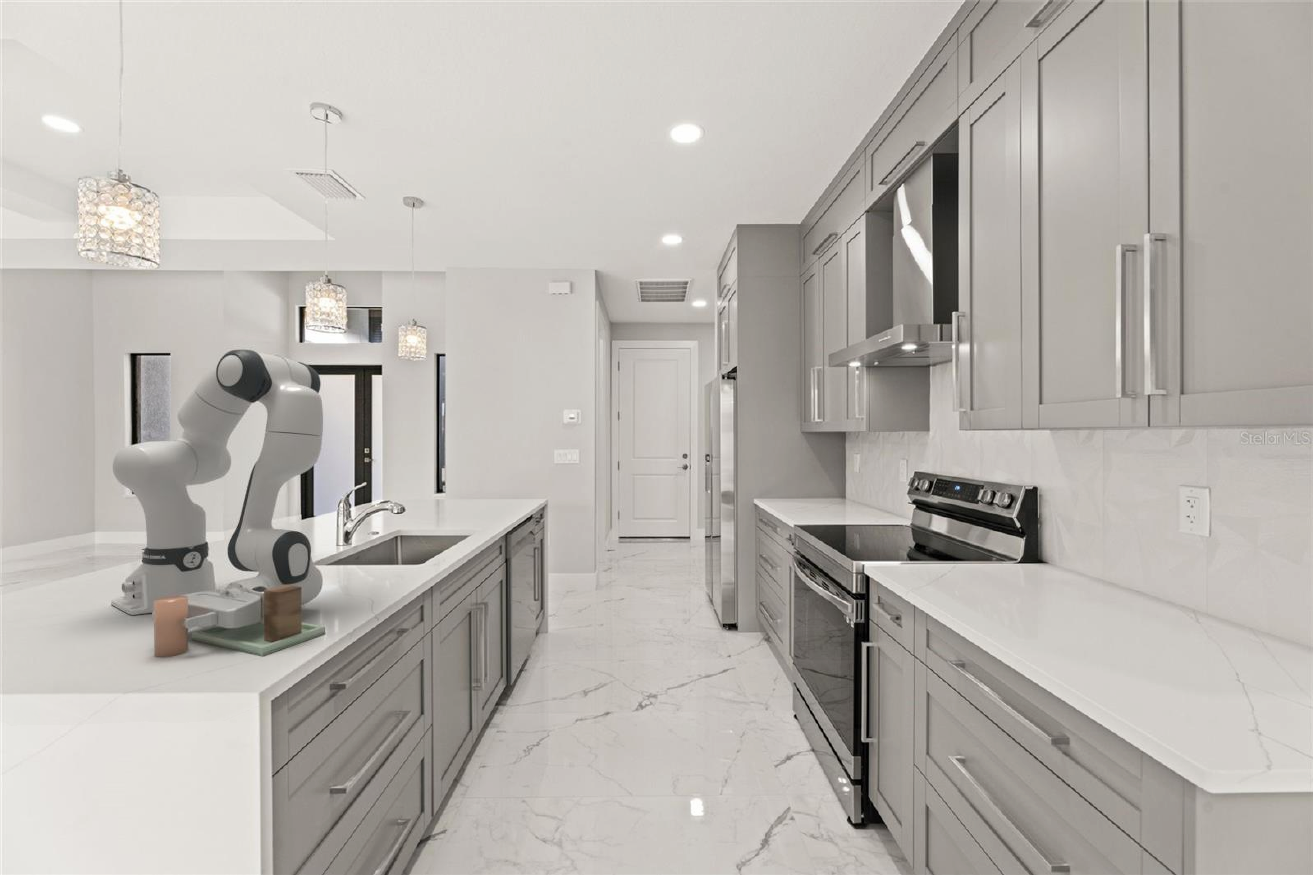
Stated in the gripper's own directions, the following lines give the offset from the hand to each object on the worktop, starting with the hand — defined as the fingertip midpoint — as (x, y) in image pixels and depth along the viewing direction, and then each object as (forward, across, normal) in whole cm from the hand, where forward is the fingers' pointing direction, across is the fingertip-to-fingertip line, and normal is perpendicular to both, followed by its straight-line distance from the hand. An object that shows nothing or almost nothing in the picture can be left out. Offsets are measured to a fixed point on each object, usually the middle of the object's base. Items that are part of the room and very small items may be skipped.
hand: (168, 620), depth 113 cm
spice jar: (0, 0, +6) cm, 6 cm away
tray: (-12, +7, +6) cm, 15 cm away
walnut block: (-12, +14, +5) cm, 19 cm away
